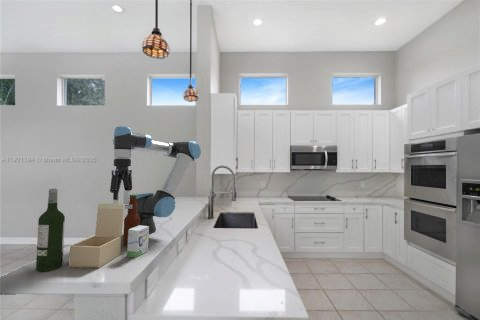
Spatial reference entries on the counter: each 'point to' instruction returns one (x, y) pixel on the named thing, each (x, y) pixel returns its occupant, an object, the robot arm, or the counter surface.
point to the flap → (110, 219)
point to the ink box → (137, 241)
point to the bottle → (130, 219)
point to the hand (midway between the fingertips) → (121, 205)
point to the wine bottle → (50, 236)
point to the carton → (94, 251)
